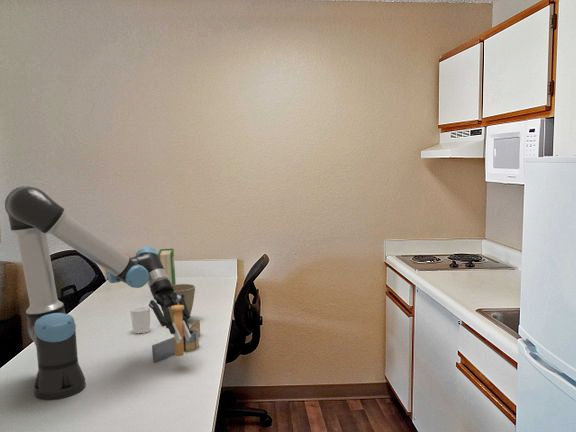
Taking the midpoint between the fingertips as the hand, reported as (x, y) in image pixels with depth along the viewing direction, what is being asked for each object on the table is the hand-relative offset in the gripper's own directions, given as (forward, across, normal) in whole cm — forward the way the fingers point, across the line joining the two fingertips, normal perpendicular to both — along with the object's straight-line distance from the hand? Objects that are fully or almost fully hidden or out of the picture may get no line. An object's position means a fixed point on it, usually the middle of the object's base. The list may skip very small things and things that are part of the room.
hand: (184, 339), depth 183 cm
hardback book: (-68, -49, -82) cm, 117 cm away
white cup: (-30, -8, -45) cm, 54 cm away
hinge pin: (+2, 0, -7) cm, 7 cm away
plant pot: (-30, -27, -45) cm, 60 cm away
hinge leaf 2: (-10, -17, -24) cm, 31 cm away
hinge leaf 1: (-5, -6, -20) cm, 21 cm away
